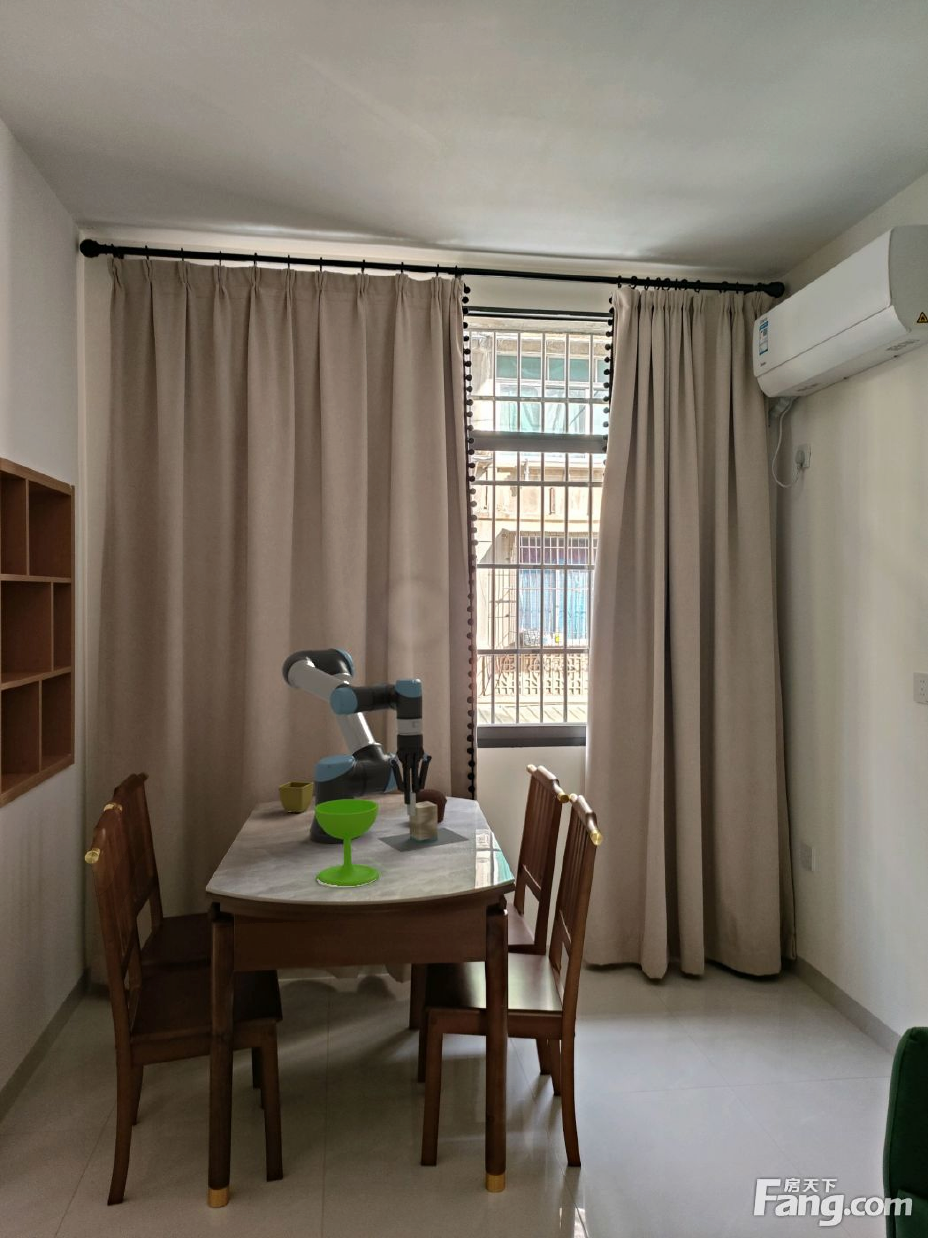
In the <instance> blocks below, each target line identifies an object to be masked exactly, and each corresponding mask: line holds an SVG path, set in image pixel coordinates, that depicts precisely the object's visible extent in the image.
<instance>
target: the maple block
mask: <svg viewBox="0 0 928 1238" xmlns="http://www.w3.org/2000/svg"><path fill="white" fill-rule="evenodd" d="M408 817H409V833H410V839H412V840H414V841H416V842H418V843H423V842H429V841H434V840H438V828H439V827H438V823H437V805H435V804H433V803H431V802H428V801H426V802H419V803H416V816H412V817H411V816H409V815H408Z"/></svg>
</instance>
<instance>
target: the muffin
mask: <svg viewBox="0 0 928 1238" xmlns="http://www.w3.org/2000/svg"><path fill="white" fill-rule="evenodd" d="M426 801H428V802H431V803H433V804H435V805H437V824H438V823H442V822H443V821H444V819H445V818H444V817H445V810H446V804H447V803H448V799H447V798H446V796H445V794H443V792H440V791H439V790H437V789H433V788H426V789H425V788H424V789H422V790H420V792H419V793H418V803H419V802H426Z"/></svg>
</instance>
